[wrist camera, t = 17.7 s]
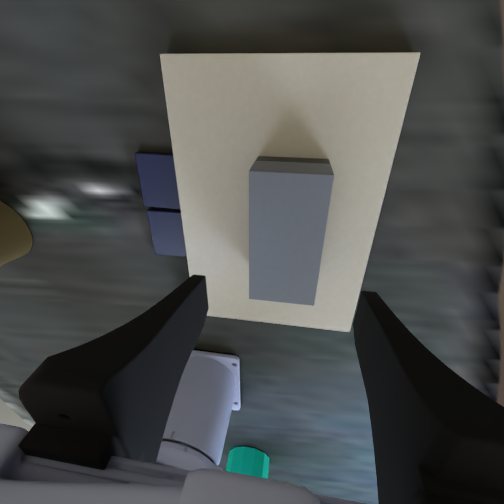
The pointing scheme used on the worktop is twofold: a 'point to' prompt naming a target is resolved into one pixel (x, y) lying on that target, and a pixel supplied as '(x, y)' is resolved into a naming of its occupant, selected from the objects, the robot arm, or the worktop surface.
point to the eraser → (287, 227)
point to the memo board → (283, 145)
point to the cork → (13, 235)
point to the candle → (248, 462)
